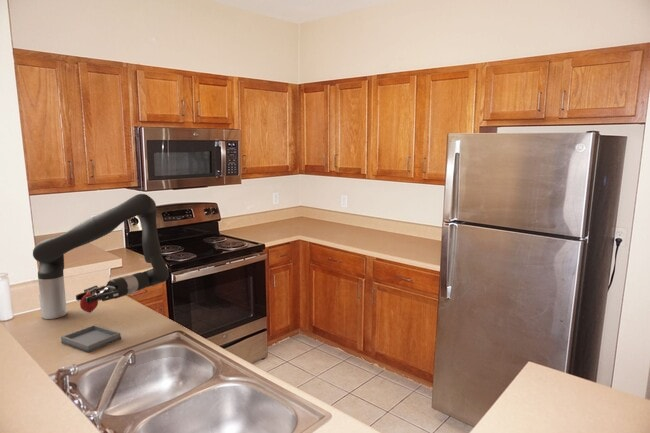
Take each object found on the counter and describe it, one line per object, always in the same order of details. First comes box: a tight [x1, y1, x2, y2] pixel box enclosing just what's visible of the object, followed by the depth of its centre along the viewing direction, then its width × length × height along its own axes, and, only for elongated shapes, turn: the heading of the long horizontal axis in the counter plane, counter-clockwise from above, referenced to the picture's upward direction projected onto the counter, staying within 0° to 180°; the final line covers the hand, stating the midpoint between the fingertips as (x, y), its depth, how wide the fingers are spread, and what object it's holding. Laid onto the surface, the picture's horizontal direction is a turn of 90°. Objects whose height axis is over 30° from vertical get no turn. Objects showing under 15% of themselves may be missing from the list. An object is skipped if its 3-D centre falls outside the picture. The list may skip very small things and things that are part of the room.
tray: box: [60, 324, 122, 354], centre depth 162 cm, size 16×13×2 cm
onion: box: [79, 292, 99, 314], centre depth 160 cm, size 6×6×8 cm
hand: (81, 299), depth 158 cm, fingers closed on onion, 5 cm apart
